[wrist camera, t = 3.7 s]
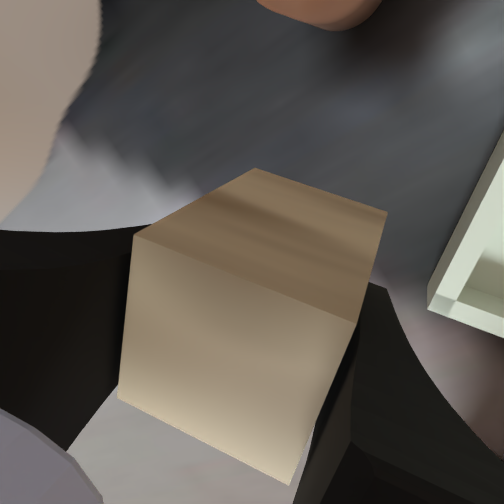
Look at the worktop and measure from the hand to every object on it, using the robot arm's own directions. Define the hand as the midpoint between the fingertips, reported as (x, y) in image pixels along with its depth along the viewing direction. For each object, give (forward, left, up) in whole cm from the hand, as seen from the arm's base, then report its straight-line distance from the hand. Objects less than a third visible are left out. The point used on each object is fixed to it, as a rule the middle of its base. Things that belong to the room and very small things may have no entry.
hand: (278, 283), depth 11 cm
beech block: (0, 0, -2) cm, 2 cm away
